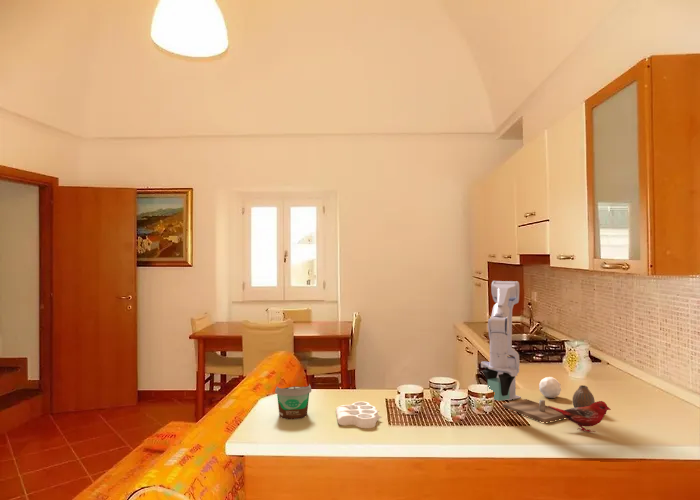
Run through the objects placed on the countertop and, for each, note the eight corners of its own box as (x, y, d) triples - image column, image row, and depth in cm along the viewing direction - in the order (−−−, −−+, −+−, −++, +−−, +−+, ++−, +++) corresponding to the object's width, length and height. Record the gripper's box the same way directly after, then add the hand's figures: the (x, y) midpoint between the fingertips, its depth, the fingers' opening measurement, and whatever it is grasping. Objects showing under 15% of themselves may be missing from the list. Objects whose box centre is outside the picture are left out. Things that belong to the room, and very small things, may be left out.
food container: (277, 422, 158) (277, 391, 158) (274, 416, 164) (274, 386, 164) (314, 418, 161) (314, 388, 161) (311, 412, 167) (311, 383, 167)
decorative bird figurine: (610, 437, 145) (610, 403, 145) (547, 426, 154) (547, 395, 154) (611, 434, 148) (611, 401, 148) (548, 424, 156) (548, 392, 157)
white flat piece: (335, 411, 170) (376, 410, 171) (338, 430, 152) (385, 428, 153) (335, 402, 170) (376, 400, 171) (338, 419, 152) (385, 418, 153)
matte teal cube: (487, 397, 166) (487, 379, 166) (498, 394, 168) (498, 377, 168) (498, 401, 161) (498, 382, 161) (509, 398, 164) (509, 380, 164)
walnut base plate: (502, 408, 172) (502, 394, 172) (526, 403, 178) (526, 389, 178) (544, 423, 157) (544, 408, 157) (569, 417, 162) (569, 402, 162)
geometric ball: (554, 404, 186) (568, 388, 185) (547, 400, 181) (561, 384, 180) (539, 390, 192) (552, 374, 191) (531, 386, 186) (545, 370, 185)
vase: (592, 409, 171) (592, 384, 171) (596, 415, 165) (596, 389, 165) (571, 407, 173) (571, 382, 173) (574, 413, 167) (574, 388, 167)
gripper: (474, 350, 169) (474, 389, 169) (506, 358, 156) (506, 400, 156) (489, 348, 173) (489, 386, 173) (521, 355, 160) (521, 397, 160)
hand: (498, 393), depth 165 cm, fingers closed on matte teal cube, 5 cm apart
